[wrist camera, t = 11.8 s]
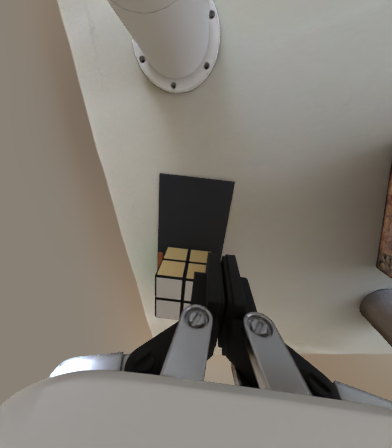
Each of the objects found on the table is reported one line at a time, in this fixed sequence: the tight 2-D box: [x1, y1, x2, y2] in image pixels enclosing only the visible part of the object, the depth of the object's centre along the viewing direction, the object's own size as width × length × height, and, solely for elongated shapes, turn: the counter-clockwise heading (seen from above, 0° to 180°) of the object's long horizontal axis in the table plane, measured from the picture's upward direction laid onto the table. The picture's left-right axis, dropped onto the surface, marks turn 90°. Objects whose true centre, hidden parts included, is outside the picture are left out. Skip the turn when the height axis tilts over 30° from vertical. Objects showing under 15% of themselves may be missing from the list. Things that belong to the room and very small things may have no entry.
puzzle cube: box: [155, 247, 212, 320], centre depth 37 cm, size 10×10×10 cm
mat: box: [158, 174, 235, 268], centre depth 39 cm, size 28×14×1 cm, turn 174°
